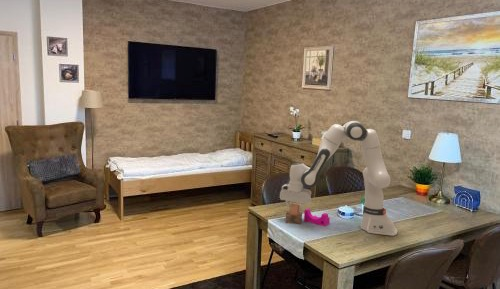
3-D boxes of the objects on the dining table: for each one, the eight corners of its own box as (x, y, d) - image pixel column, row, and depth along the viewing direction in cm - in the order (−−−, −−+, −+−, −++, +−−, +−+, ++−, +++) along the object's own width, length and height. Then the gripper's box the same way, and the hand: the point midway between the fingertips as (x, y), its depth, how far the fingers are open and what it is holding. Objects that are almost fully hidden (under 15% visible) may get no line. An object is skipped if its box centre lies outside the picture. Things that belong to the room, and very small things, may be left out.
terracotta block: (299, 213, 247) (299, 204, 247) (296, 215, 243) (297, 206, 242) (291, 212, 250) (292, 203, 249) (289, 214, 245) (289, 205, 244)
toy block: (329, 224, 245) (330, 212, 244) (325, 226, 240) (325, 215, 239) (308, 218, 253) (309, 207, 252) (303, 221, 248) (304, 210, 247)
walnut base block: (301, 219, 251) (302, 212, 250) (301, 224, 241) (301, 217, 241) (286, 218, 253) (287, 211, 252) (285, 223, 243) (285, 215, 242)
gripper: (312, 188, 243) (311, 209, 244) (282, 184, 251) (281, 204, 253) (310, 190, 237) (308, 212, 239) (279, 186, 245) (278, 206, 247)
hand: (294, 208), depth 246 cm, fingers open, 7 cm apart
